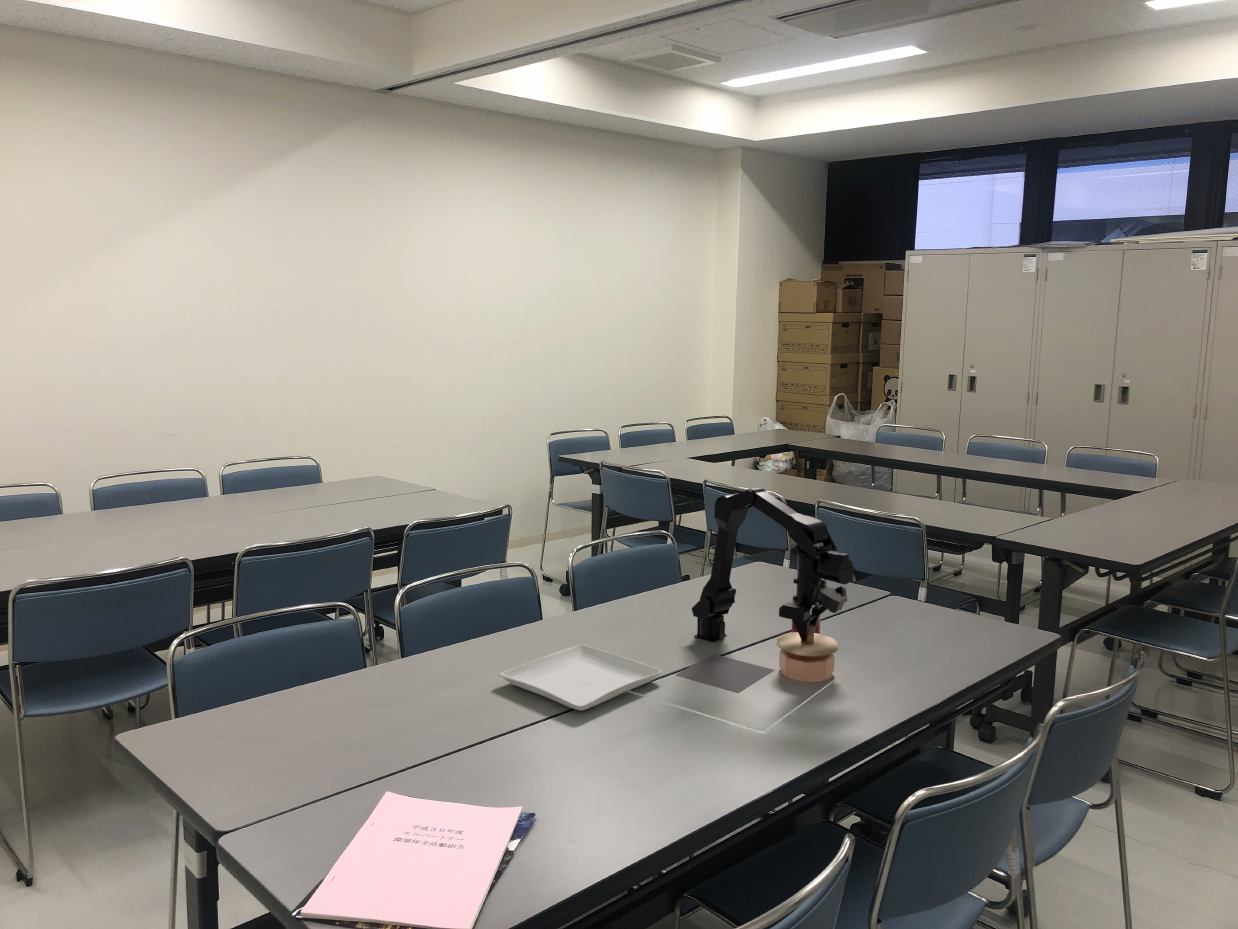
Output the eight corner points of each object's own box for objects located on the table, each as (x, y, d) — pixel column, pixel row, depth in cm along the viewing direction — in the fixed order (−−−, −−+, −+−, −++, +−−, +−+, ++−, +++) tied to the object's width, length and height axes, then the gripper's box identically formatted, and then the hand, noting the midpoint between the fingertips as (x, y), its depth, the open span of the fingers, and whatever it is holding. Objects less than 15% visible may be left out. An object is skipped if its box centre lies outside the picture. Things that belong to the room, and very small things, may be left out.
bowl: (771, 675, 211) (772, 654, 210) (794, 660, 220) (795, 640, 219) (818, 687, 203) (819, 666, 203) (840, 671, 213) (841, 651, 212)
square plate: (664, 684, 206) (665, 668, 205) (580, 723, 186) (580, 705, 185) (581, 655, 224) (581, 640, 223) (496, 687, 204) (496, 671, 204)
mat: (675, 676, 210) (675, 674, 210) (713, 655, 223) (713, 653, 223) (738, 694, 200) (738, 692, 199) (774, 671, 213) (774, 669, 213)
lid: (766, 647, 209) (766, 627, 209) (793, 631, 220) (794, 612, 220) (821, 661, 201) (822, 640, 200) (847, 643, 212) (848, 624, 211)
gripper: (824, 590, 196) (821, 658, 198) (858, 572, 210) (855, 635, 213) (778, 581, 202) (776, 647, 205) (815, 564, 217) (812, 625, 220)
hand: (807, 638), depth 210 cm, fingers closed on lid, 3 cm apart
